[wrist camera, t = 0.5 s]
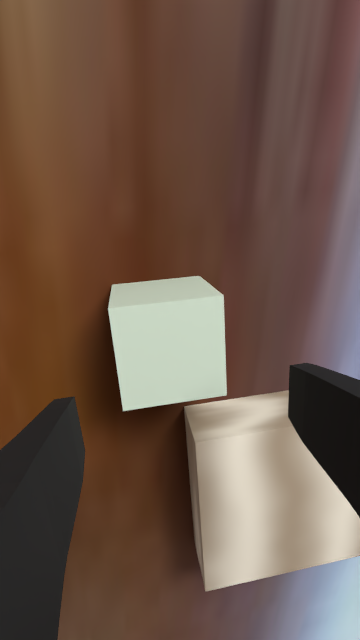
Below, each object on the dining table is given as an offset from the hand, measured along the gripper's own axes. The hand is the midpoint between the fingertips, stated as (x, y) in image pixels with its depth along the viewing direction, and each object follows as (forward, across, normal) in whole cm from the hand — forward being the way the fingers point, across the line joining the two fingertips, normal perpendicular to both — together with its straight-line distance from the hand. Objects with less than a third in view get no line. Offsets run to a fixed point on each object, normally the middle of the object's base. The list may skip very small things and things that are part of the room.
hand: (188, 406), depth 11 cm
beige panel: (+10, -7, +12) cm, 17 cm away
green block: (+9, 0, 0) cm, 9 cm away
